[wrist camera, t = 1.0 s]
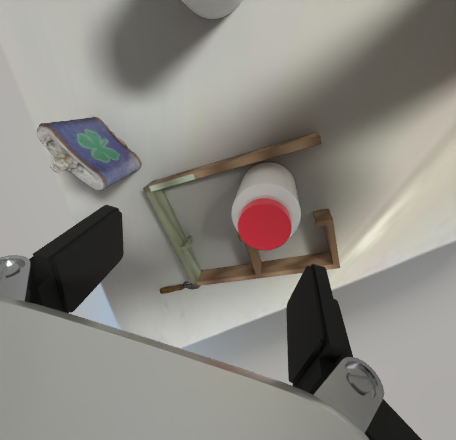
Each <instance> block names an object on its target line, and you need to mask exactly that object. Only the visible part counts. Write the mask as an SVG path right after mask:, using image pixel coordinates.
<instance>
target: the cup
mask: <svg viewBox="0 0 456 440" xmlns="http://www.w3.org/2000/svg"><path fill="white" fill-rule="evenodd" d="M181 1H182V2H183V3H184V4H185V5H186V6H188V7H189V8H190V9H191V10H192V11H193V12H194V13H196V14H197V15H199V16H201V17H203V18H207V19H218V18H222V17H224V16H227V15H228V14H230V13H231V12H233V11H234V10H235V9H236V8H237V7H238V6H239V4H240V3H241V2H242V0H181Z"/></svg>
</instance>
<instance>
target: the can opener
mask: <svg viewBox="0 0 456 440" xmlns="http://www.w3.org/2000/svg"><path fill="white" fill-rule="evenodd" d="M187 283H189V282H185V283H184V285H183V284H182V285H181V284H180V285H176V286H170V287H165V288H162V289H160V293H161V294H163V293H169V292H173V291H176V290H182V289H184V288H188V289H197V288H199V287H200V286H194V287H193V285H192V283H191V284H187Z"/></svg>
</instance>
